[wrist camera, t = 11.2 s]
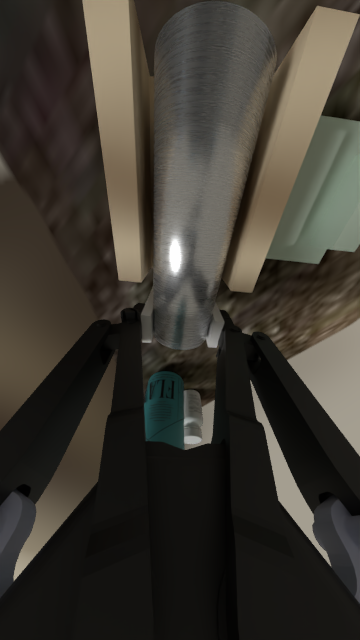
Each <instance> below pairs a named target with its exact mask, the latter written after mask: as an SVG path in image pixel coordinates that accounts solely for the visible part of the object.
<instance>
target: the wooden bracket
mask: <svg viewBox="0 0 360 640" xmlns="http://www.w3.org/2000/svg"><path fill="white" fill-rule="evenodd" d="M83 8H84V15H85V23H86V31H87V38H88V46H89V54H90V61H91V69H92V77H93V84H94V92H95V100H96V108H97V115H98V123H99V131H100V138H101V146H102V154H103V161H104V169H105V177H106V184H107V192H108V200H109V207H110V215H111V223H112V230H113V238H114V246H115V254H116V261H117V269H118V277H119V280H122V281H132V282H142V281H143V279H144V278H145V276H146V275H147V273H148V272H149V270H150V269H151V268H153V262H154V77H153V76H150V75H149V70H148V66H147V61H146V56H145V51H144V47H143V42H142V37H141V32H140V27H139V23H138V18H137V13H136V8H135V4H134V0H83ZM359 15H360V14H355V13H350V12H345V11H340V10H335V9H330V8H325V7H320V6H317V7H316V9H315V11H314V12H313V14H312V15H311V17H310V18H309V20H308V22H307V23H306V25H305V26H304V28H303V30H302V31H301V33H300V34H299V36H298V38H297V39H296V41H295V42H294V44H293V45H292V47H291V49H290V50H289V52H288V53H287V55H286V57H285V58H284V60H283V61H282V63H281V65H280V66H279V68H278V69H277V71H276V73H275V74H274V76H273V79H272V83H271V87H270V91H269V95H268V99H267V103H266V106H265V110H264V114H263V118H262V122H261V126H260V130H259V134H258V138H257V141H256V145H255V149H254V153H253V157H252V161H251V165H250V169H249V173H248V176H247V180H246V184H245V188H244V192H243V196H242V200H241V204H240V207H239V211H238V215H237V219H236V223H235V227H234V231H233V235H232V239H231V242H230V246H229V250H228V254H227V258H226V262H225V266H224V270H223V274H222V277H221V278H222V279H223V281H224V282H225V283H226V285H227V286H228V287H229V289H230V290H231V291H238V292H248V293H252V291H253V289H254V286H255V284H256V281H257V279H258V276H259V273H260V271H261V268H262V266H263V263H264V260H265V258H266V255H267V253H268V250H269V248H270V245H271V242H272V240H273V237H274V235H275V232H276V230H277V227H278V224H279V222H280V219H281V217H282V214H283V211H284V209H285V206H286V204H287V201H288V199H289V196H290V193H291V191H292V188H293V186H294V183H295V180H296V178H297V175H298V173H299V170H300V168H301V165H302V162H303V160H304V157H305V155H306V152H307V149H308V147H309V144H310V142H311V139H312V137H313V134H314V131H315V129H316V126H317V124H318V121H319V118H320V116H321V113H322V111H323V108H324V106H325V103H326V100H327V98H328V95H329V93H330V90H331V87H332V85H333V82H334V80H335V77H336V75H337V72H338V69H339V67H340V64H341V62H342V59H343V57H344V54H345V51H346V49H347V46H348V44H349V41H350V38H351V36H352V33H353V31H354V28H355V26H356V23H357V20H358V18H359Z"/></svg>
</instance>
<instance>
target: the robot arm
mask: <svg viewBox="0 0 360 640" xmlns="http://www.w3.org/2000/svg"><path fill="white" fill-rule="evenodd" d="M121 319H122V323H119V324H112V325H111V322H110V321H108V320H98V321H95V322H94V323H92V324H91V326H90V327H89V328H88V329H87V331H85V333H84V334H83V335H82V336H81V337H80V338H79V340H78V341H77V342H76V343H75V344H74V345H73V347H72V348H71V349H70V350H69V351H68V352H67V354H66V355H65V356H64V357H63V358H62V360H61V361H60V362H59V363H58V364H57V365H56V366H55V368H54V369H53V370H52V371H51V372H50V373H49V375H48V376H47V377H46V378H45V379H44V380H43V382H42V383H41V384H40V385H39V386H38V387H37V389H36V390H35V391H34V392H33V394H31V396H30V397H29V398H28V399H27V400H26V402H25V403H24V404H23V405H22V406H21V407H20V409H19V410H18V411H17V412H16V413H15V414H14V415H13V417H12V418H11V419H10V420H9V421H8V423H7V424H6V425H5V426H4V427H3V428H2V430H1V431H0V640H360V456H359V455H358V454H357V452H356V451H355V450H354V448H353V447H352V446H351V444H350V443H349V442H348V440H347V439H346V438H345V437H344V435H343V434H342V433H341V432H340V430H339V429H338V427H337V426H336V425H335V423H334V422H333V421H332V419H331V418H330V417H329V415H328V414H327V413H326V412H325V410H324V409H323V408H322V406H321V405H320V404H319V402H318V401H317V400H316V399H315V397H314V396H313V394H312V393H311V392H310V390H309V389H308V388H307V386H306V385H305V384H304V382H303V381H302V380H301V379H300V377H299V376H298V375H297V373H296V372H295V371H294V369H293V368H292V367H291V365H290V364H289V363H288V361H287V360H286V359H285V357H284V356H283V355H282V353H281V352H280V351H279V350H278V348H277V347H276V346H275V344H274V343H273V342H272V340H271V339H270V338H269V337H268V336H267V335H266V334H264V333H262V332H253V334H252V336H251V335H248V334H244V333H242V330H241V329H240V328H239V327H237V326H235V325H234V324H233V322H232V320H231V318H230V317H229V314H228V313H227V312H226V311H225V310H219V308H218V306H217V304H216V302H215V305H214V309H213V312H212V316H211V320H210V324H209V328H208V332H207V336H206V340H207V345H208V347H214V348H217V345H218V344H219V349H218V352H217V355H216V357H217V356H218V357H217V374H216V390H215V408H214V425H213V436H212V441H211V444H204V445H201V446H198V447H195V448H191V449H188V450H183V449H181V448H178V447H175V446H173V445H170V444H168V443H165V442H159V441H146V433H145V414H144V394H143V374H142V355H141V339H142V342H147V343H151V341H152V337H153V288H152V290H151V292H150V295H149V297H148V299H147V302H146V304H142V303H138V304H136V305H135V306H134V308H126V309H123V310H122V311H121ZM116 349H118V357H117V366H116V374H115V382H114V390H113V399H112V407H111V413H110V414H109V415H108V418H107V422H106V428H105V435H104V443H103V450H102V458H101V464H100V472H99V479H98V482H97V483H96V484H95V486H94V487H93V488H92V489H91V490H90V492H89V493H88V494H87V495H86V496H85V497H84V499H83V500H82V501H81V502H80V504H79V505H78V506H77V507H76V508H75V509H74V511H73V512H72V513H71V514H70V516H69V517H68V518H67V519H66V520H65V521H64V523H63V524H62V525H61V526H60V527H59V529H58V530H57V531H56V532H55V533H54V534H53V536H52V537H51V538H50V539H49V540H48V542H47V543H46V544H45V545H44V546H43V548H42V549H41V550H40V551H39V552H38V554H37V555H36V556H35V557H34V558H33V560H32V561H31V562H30V563H29V564H28V565H27V567H26V568H25V569H24V570H23V571H22V573H21V574H20V575H19V576H18V577H17V579H16V580H15V581H14V580H13V575H14V570H15V564H16V562H17V559H18V556H19V553H20V551H21V549H22V547H23V545H24V543H25V541H26V540H27V538H28V537H29V535H30V533H31V531H32V528H33V524H34V522H35V517H36V507H35V504H36V502H37V501H38V500H39V498H40V496H41V495H42V493H43V492H44V490H45V488H46V487H47V485H48V484H49V482H50V480H51V479H52V477H53V475H54V473H55V471H56V469H57V467H58V465H59V463H60V462H61V460H62V458H63V456H64V454H65V452H66V450H67V447H68V446H69V443H70V441H71V439H72V437H73V435H74V433H75V431H76V429H77V427H78V425H79V423H80V421H81V419H82V417H83V415H84V413H85V411H86V409H87V407H88V405H89V403H90V401H91V399H92V397H93V395H94V393H95V391H96V389H97V387H98V385H99V383H100V381H101V379H102V377H103V375H104V373H105V371H106V369H107V367H108V364H109V362H110V360H111V358H112V356H113V354H114V352H115V350H116ZM260 358H261V360H260ZM250 379H251V381H252V384H253V386H254V388H255V391H256V393H257V395H258V398H259V400H260V402H261V404H262V407H263V409H264V411H265V414H266V416H267V418H268V420H269V423H270V425H271V427H272V430H273V432H274V434H275V437H276V439H277V441H278V443H279V446H280V448H281V450H282V452H283V455H284V457H285V459H286V462H287V464H288V467H289V469H290V471H291V473H292V475H293V477H294V480H295V482H296V484H297V486H298V488H299V490H300V492H301V493H302V495H303V497H304V499H305V501H306V503H307V504H308V506H309V507H310V509H311V511H312V513H313V514H314V523H313V525H312V526H313V533H314V535H315V538H316V540H317V541H318V543H319V545H320V546H321V547H322V548H323V549H324V550H325V551H326V552H327V554H328V557H329V560H330V563H331V566H330V565H329V564H328V563H327V561H326V560H325V559H324V558H323V556H322V555H321V554H320V553H319V551H318V550H317V549H316V548H315V546H314V545H313V544H312V542H311V541H310V540H309V539H308V537H307V536H306V535H305V534H304V532H303V531H302V530H301V529H300V527H299V526H298V525H297V523H296V522H295V521H294V520H293V518H292V517H291V516H290V515H289V513H288V512H287V511H286V509H285V508H284V507H283V506H282V504H281V503H280V502H279V501H278V496H277V491H276V486H275V481H274V476H273V471H272V466H271V460H270V456H269V450H268V446H267V440H266V435H265V431H264V427H263V425H262V423H260V422H258V421H257V419H256V415H255V409H254V402H253V396H252V390H251V384H250ZM331 567H332V568H331Z"/></svg>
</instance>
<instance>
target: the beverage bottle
mask: <svg viewBox="0 0 360 640" xmlns="http://www.w3.org/2000/svg"><path fill="white" fill-rule="evenodd" d="M148 381H149V382H148V386H147V387H146V388H147V391H145V397H144V398H145V400H144V414H145V433H146V441H159V442H165V443H168V444H170V445H173V446H175V447H178V448H181V449H183V450H184V403H185V396H184V382H183V380H182V378H181V377H180V376H179V375H178V374H176V373H173V372H168V371H162V372H158V373H155V374H154V375H152V376H151V378H150V379H149V380H148Z"/></svg>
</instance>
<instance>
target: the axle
mask: <svg viewBox="0 0 360 640" xmlns="http://www.w3.org/2000/svg"><path fill="white" fill-rule="evenodd" d="M276 60H277V54H276V46H275V42H274V39H273V37H272V35H271V32H270V31H269V29H268V28H267V26H266V25H265V23H264V22H263V21H262V20H261V19H260V18H259V17H258V16H256V15H255V14H254V13H252V12H251V11H250V10H248V9H246V8H244V7H242V6H240V5H236V4H233V3H230V2H223V1H206V2H201V3H197V4H194V5H191V6H189V7H186V8H184V9H183V10H181V11H179V12H178V13H176V14H175V15H174V16H173V17H172V18H170V19H169V21H168V22H167V23H166V24H165V25H164V27H163V28H162V30H161V32H160V33H159V36H158V38H157V41H156V45H155V51H154V262H153V333H154V336H155V338H156V339H157V340H158V341H159V342H160V343H161V344H163V345H165V346H167V347H170V348H173V349H179V350H188V349H193V348H196V347H198V346H200V345H201V344H202V343H203V342H204V341H205V339H206V336H207V332H208V328H209V324H210V320H211V316H212V312H213V309H214V305H215V301H216V297H217V293H218V289H219V285H220V281H221V277H222V274H223V270H224V266H225V262H226V258H227V254H228V250H229V246H230V242H231V239H232V235H233V231H234V227H235V223H236V219H237V215H238V211H239V207H240V204H241V200H242V196H243V192H244V188H245V184H246V180H247V176H248V173H249V169H250V165H251V161H252V157H253V153H254V149H255V145H256V141H257V138H258V134H259V130H260V126H261V122H262V118H263V114H264V110H265V106H266V103H267V99H268V95H269V91H270V87H271V83H272V79H273V75H274V72H275V67H276Z"/></svg>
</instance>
